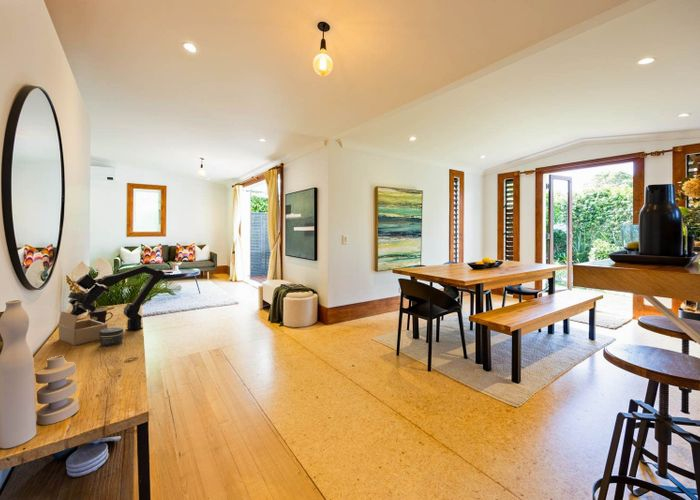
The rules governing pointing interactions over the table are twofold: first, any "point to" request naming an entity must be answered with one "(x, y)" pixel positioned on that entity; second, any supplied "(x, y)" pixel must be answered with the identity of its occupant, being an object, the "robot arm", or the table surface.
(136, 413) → the table surface
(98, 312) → the coffee mug
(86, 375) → the table surface
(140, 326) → the robot arm
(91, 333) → the shipping carton
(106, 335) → the jar
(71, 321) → the carton flap
